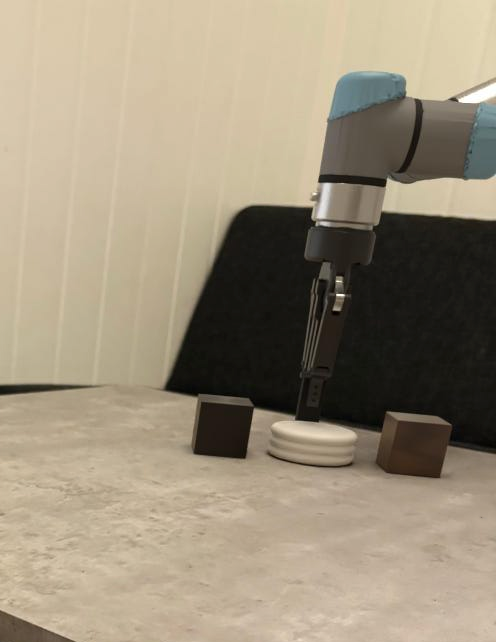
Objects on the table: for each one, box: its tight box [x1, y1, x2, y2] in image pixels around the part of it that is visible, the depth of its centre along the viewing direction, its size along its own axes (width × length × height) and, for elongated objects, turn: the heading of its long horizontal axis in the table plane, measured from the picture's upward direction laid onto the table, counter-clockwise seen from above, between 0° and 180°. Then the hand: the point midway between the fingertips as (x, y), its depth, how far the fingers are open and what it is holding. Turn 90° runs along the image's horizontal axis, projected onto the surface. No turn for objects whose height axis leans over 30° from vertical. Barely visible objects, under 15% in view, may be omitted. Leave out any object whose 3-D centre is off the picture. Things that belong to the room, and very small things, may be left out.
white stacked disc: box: [266, 420, 358, 467], centre depth 120 cm, size 10×10×4 cm
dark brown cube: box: [191, 393, 255, 460], centre depth 119 cm, size 6×6×6 cm
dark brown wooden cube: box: [375, 411, 453, 479], centre depth 117 cm, size 6×6×6 cm
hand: (304, 431), depth 125 cm, fingers closed
